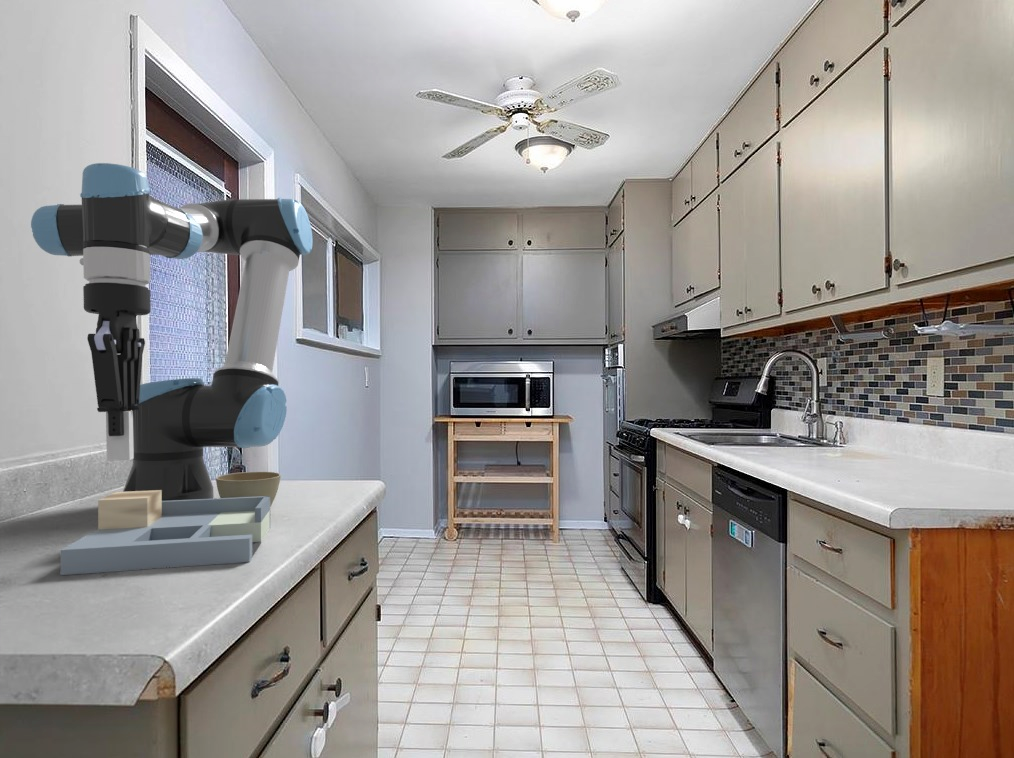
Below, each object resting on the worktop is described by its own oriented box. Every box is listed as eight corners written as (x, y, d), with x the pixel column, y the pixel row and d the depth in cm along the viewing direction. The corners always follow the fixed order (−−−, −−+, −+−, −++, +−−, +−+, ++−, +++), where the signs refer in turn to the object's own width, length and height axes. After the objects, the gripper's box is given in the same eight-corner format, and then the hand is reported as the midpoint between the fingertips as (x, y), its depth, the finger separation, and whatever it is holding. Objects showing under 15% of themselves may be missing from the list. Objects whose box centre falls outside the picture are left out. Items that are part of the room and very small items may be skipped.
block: (116, 519, 86) (115, 492, 86) (161, 517, 88) (161, 490, 88) (98, 529, 81) (98, 500, 81) (147, 526, 82) (147, 497, 82)
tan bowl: (257, 526, 94) (257, 481, 94) (202, 523, 96) (202, 479, 96) (292, 512, 104) (292, 471, 104) (241, 510, 106) (241, 470, 106)
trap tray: (120, 536, 88) (119, 502, 88) (270, 527, 93) (270, 495, 93) (60, 575, 71) (60, 533, 71) (249, 561, 76) (249, 522, 76)
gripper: (106, 289, 85) (108, 453, 86) (61, 276, 72) (65, 468, 73) (164, 291, 87) (166, 451, 87) (130, 278, 74) (133, 466, 75)
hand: (120, 459), depth 80 cm, fingers closed
